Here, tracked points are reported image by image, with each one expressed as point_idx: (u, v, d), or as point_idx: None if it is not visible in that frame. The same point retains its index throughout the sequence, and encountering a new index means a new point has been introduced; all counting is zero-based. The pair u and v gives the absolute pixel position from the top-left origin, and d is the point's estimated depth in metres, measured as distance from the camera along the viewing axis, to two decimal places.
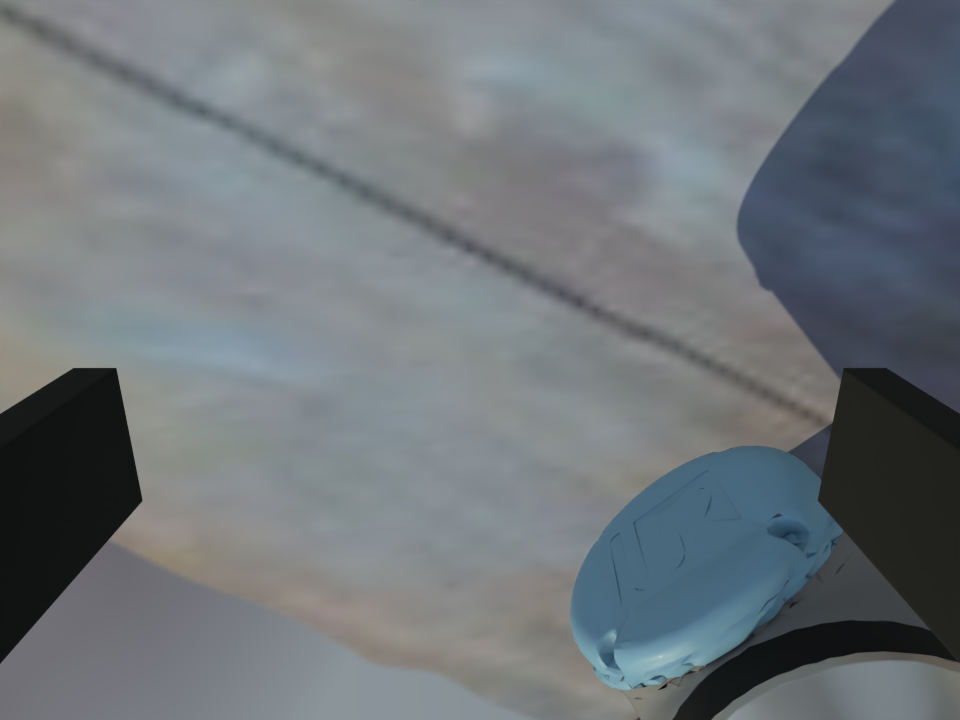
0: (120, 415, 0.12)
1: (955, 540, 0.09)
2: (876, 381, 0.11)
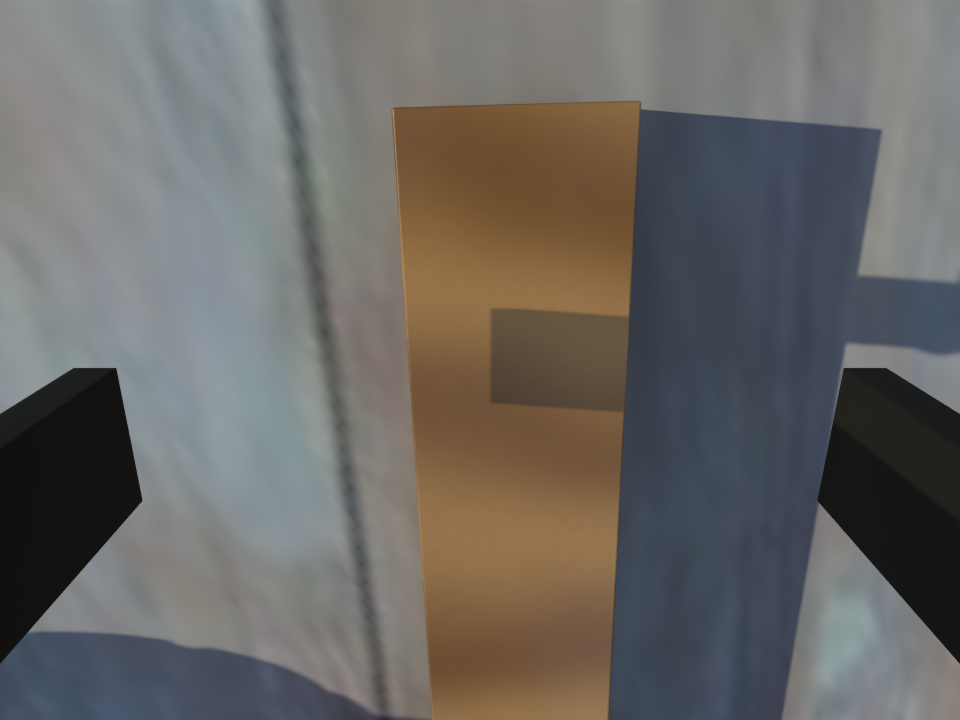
0: (120, 415, 0.12)
1: (955, 540, 0.09)
2: (876, 381, 0.11)
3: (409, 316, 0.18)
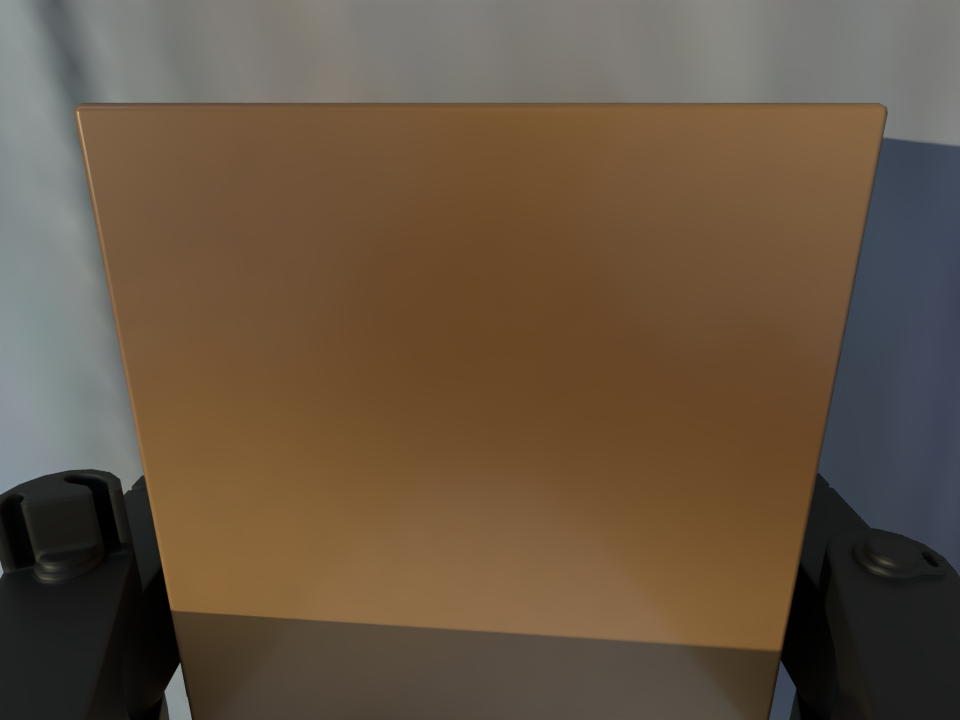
0: None
1: None
2: None
3: (191, 666, 0.07)
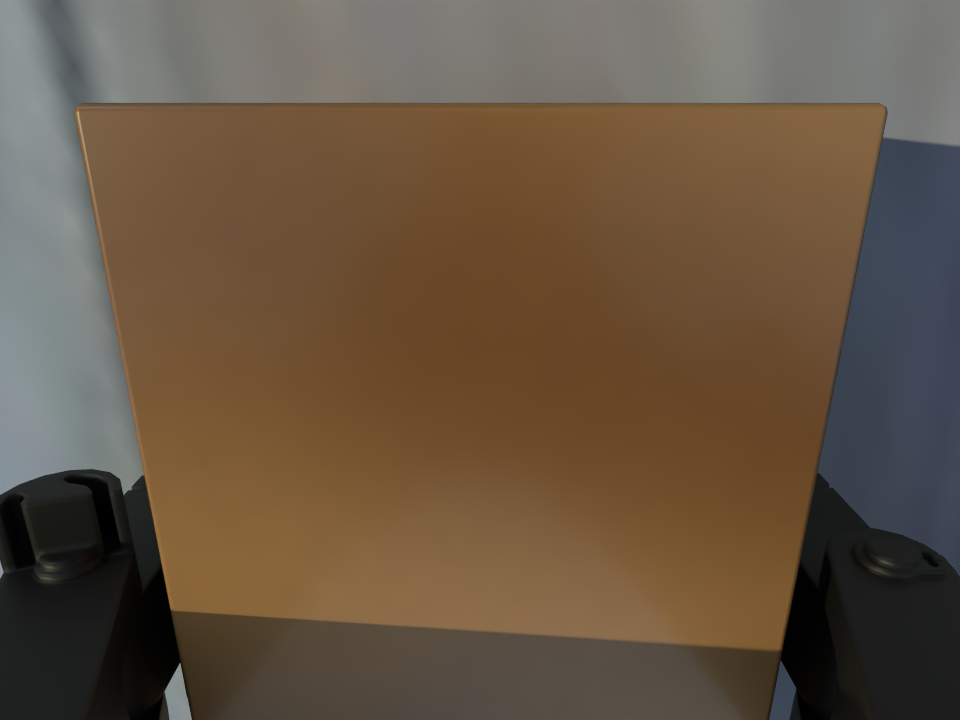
0: None
1: None
2: None
3: (191, 666, 0.07)
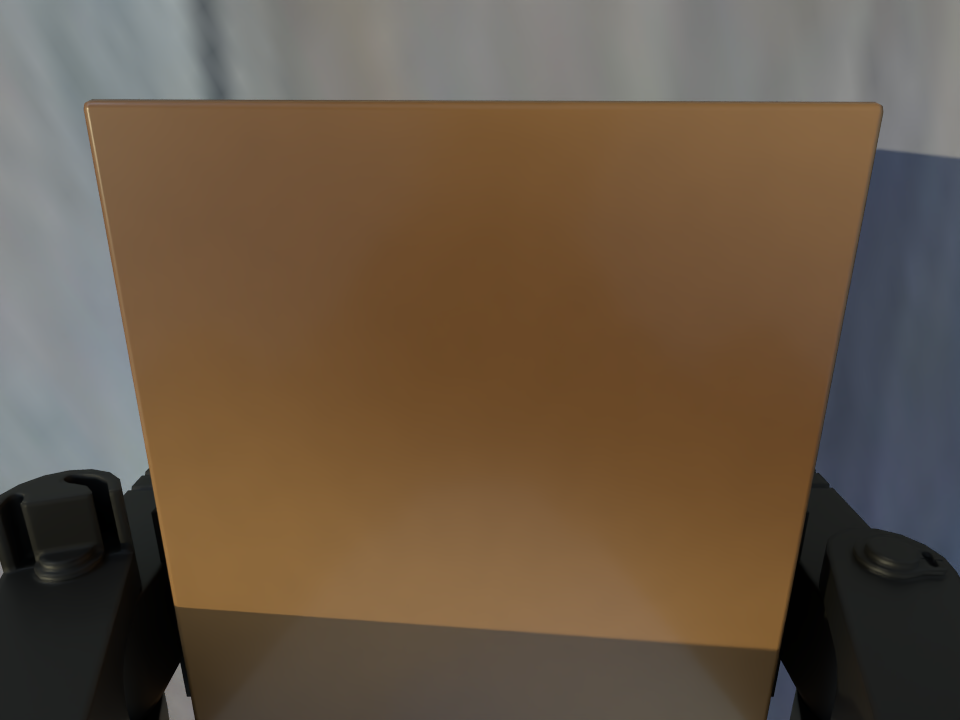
0: None
1: None
2: None
3: (194, 659, 0.07)
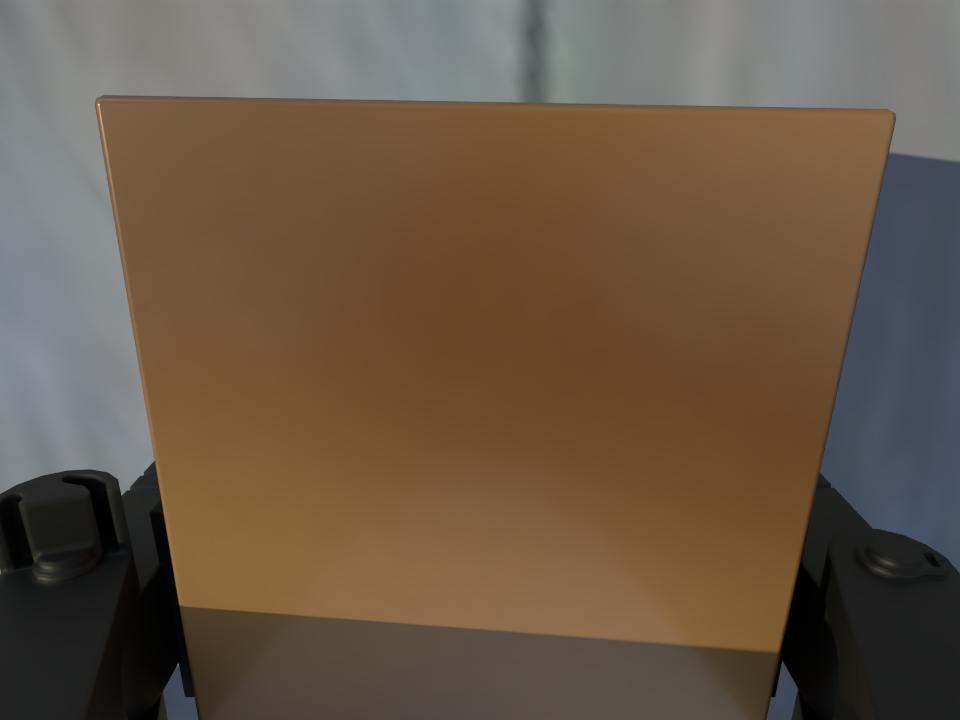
0: None
1: None
2: None
3: (197, 655, 0.07)
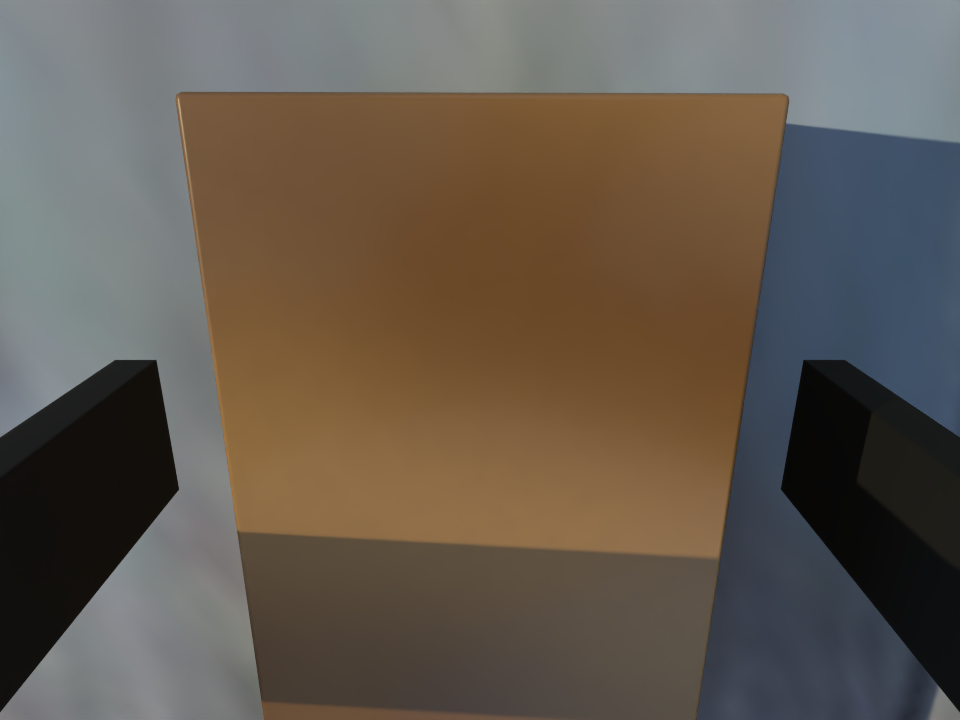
0: (159, 406, 0.12)
1: (898, 523, 0.09)
2: (833, 372, 0.12)
3: (247, 548, 0.08)
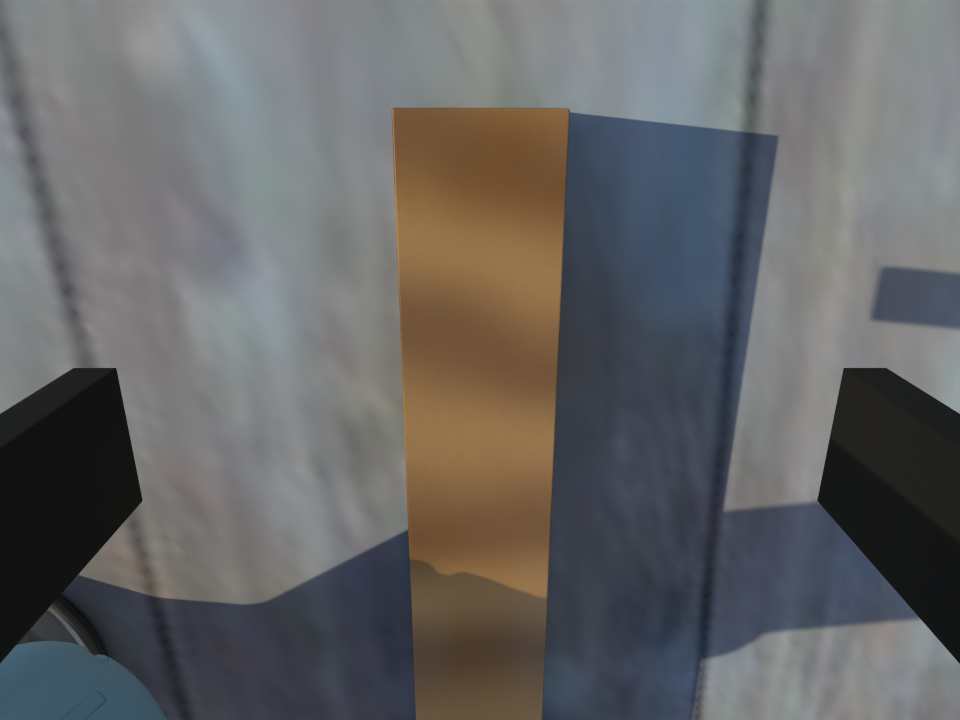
0: (121, 415, 0.12)
1: (955, 540, 0.09)
2: (876, 381, 0.11)
3: (401, 261, 0.24)
